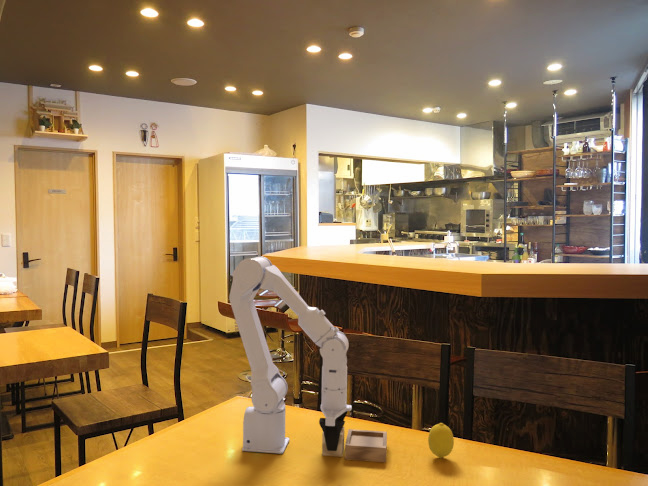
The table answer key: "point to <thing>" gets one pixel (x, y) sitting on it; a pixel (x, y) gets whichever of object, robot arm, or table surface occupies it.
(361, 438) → the tray
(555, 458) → the table surface
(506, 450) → the table surface
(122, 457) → the table surface
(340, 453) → the block
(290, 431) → the table surface
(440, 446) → the lemon
